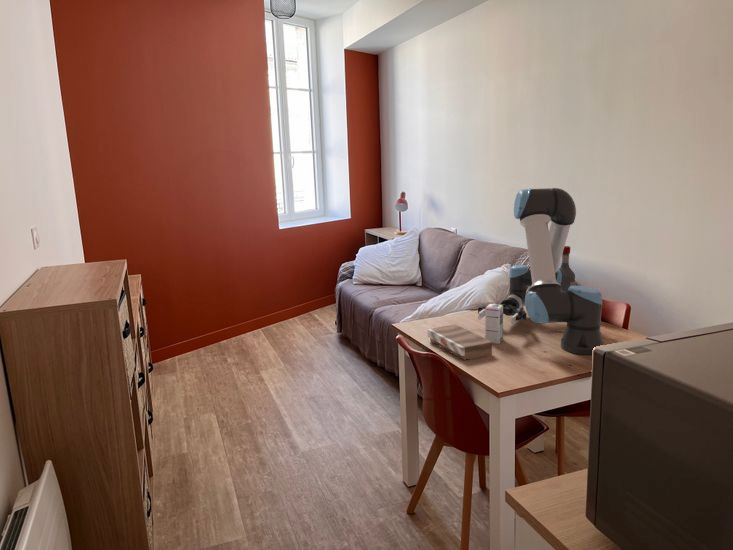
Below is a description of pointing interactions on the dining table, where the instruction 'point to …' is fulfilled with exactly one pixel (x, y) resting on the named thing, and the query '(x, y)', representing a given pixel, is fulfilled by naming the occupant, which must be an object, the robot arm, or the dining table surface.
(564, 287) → the liquor
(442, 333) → the striped flat box
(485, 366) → the dining table surface
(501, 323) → the syrup box
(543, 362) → the dining table surface
